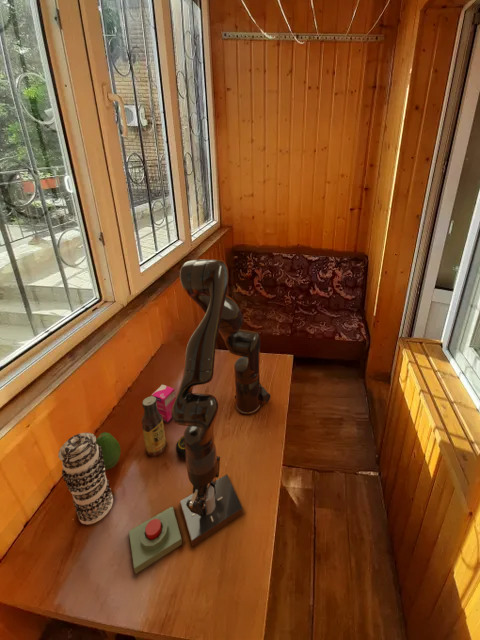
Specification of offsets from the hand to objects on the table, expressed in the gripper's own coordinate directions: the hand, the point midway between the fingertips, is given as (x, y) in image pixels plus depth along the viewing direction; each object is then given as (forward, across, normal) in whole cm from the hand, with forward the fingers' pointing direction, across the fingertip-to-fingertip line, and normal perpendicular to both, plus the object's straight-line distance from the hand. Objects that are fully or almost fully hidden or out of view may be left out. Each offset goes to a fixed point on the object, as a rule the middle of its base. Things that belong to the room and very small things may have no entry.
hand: (207, 503), depth 85 cm
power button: (0, -9, +10) cm, 14 cm away
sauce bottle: (+4, +13, +26) cm, 29 cm away
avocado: (+4, +4, +37) cm, 37 cm away
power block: (+4, -9, +10) cm, 14 cm away
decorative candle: (+4, -7, +31) cm, 32 cm away
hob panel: (+4, +1, -1) cm, 4 cm away
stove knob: (+1, 0, 0) cm, 1 cm away
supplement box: (+4, +26, +31) cm, 40 cm away
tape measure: (+4, +15, +15) cm, 21 cm away
